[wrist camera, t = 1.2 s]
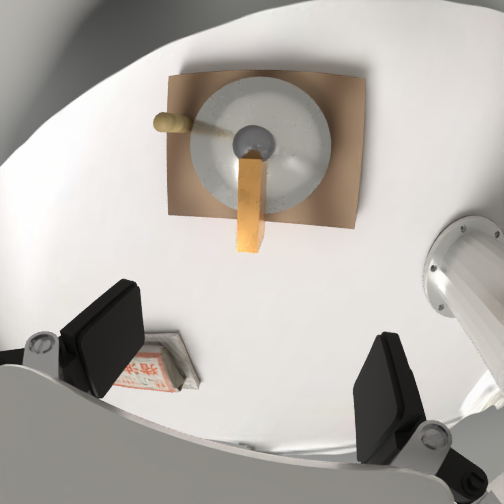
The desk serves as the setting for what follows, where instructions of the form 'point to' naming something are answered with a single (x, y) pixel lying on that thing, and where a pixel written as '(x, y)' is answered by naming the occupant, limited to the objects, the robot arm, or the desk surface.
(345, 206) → the board
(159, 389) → the packaged product
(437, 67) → the desk surface
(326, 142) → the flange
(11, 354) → the robot arm
